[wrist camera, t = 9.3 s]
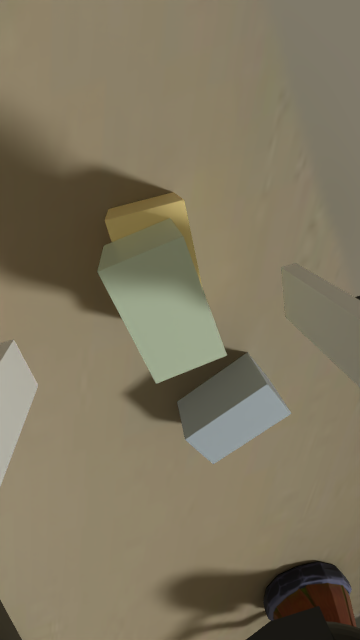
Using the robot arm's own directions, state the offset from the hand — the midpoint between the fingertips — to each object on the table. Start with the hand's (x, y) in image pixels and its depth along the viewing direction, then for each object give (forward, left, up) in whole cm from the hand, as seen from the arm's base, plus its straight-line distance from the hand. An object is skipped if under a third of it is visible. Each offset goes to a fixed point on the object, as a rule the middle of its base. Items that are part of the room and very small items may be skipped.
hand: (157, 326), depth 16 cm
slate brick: (+4, -11, -7) cm, 13 cm away
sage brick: (+1, +1, -3) cm, 3 cm away
